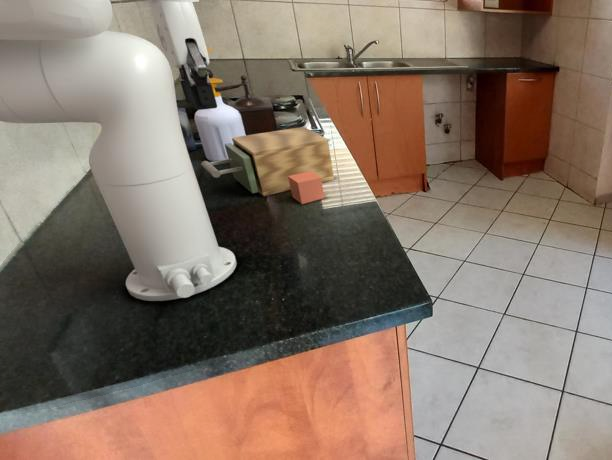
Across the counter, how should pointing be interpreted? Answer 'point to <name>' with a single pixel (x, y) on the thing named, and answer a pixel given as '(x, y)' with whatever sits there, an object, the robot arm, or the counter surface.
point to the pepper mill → (251, 109)
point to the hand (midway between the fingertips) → (201, 104)
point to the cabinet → (286, 157)
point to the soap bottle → (218, 126)
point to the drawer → (236, 167)
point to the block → (306, 187)
